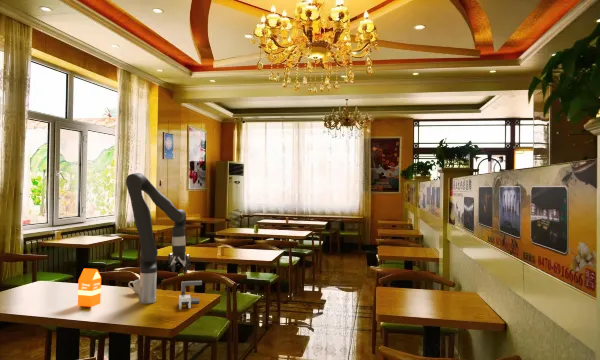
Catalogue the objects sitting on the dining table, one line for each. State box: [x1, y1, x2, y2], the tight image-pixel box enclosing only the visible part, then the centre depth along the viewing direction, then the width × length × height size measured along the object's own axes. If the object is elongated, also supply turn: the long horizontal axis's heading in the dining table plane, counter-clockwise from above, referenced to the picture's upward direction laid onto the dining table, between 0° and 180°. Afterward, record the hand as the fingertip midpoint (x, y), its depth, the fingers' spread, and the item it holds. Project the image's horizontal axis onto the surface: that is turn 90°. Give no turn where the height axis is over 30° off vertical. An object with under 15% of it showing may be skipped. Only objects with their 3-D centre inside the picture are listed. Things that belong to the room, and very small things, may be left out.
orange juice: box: [77, 268, 102, 308], centre depth 239 cm, size 8×9×20 cm
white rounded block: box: [178, 293, 192, 310], centre depth 239 cm, size 9×6×6 cm
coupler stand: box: [180, 280, 203, 305], centre depth 249 cm, size 12×8×12 cm
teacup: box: [127, 278, 140, 295], centre depth 266 cm, size 14×11×8 cm
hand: (179, 272), depth 245 cm, fingers open, 8 cm apart
